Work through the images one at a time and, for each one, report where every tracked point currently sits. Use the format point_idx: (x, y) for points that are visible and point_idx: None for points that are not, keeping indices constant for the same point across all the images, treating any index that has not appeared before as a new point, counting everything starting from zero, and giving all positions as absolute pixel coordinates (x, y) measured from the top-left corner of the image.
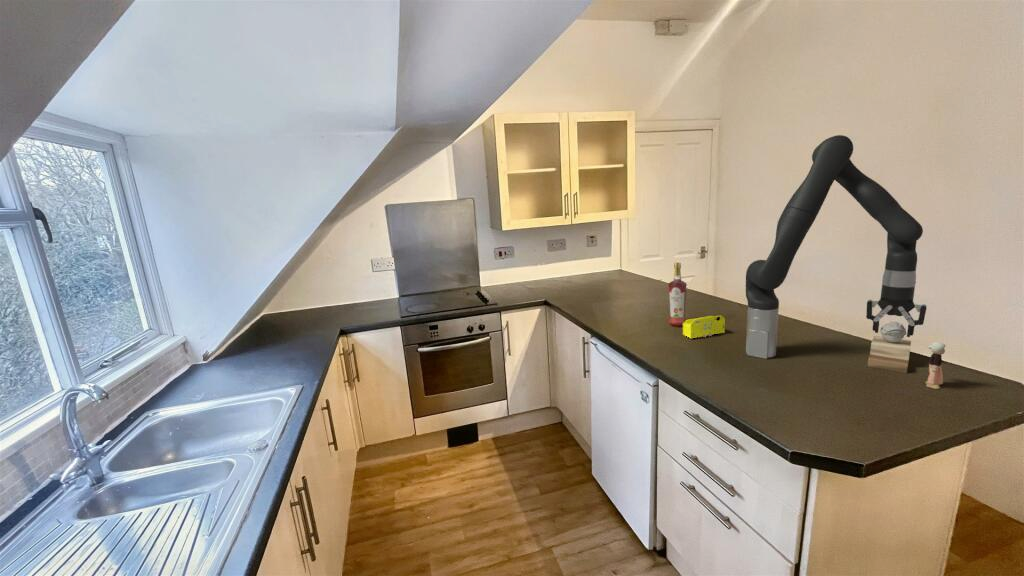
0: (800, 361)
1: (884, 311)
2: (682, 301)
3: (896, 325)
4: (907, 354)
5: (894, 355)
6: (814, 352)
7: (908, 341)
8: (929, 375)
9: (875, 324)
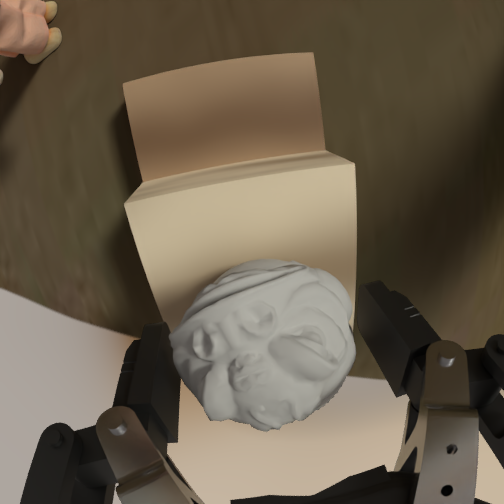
0: (483, 8)
1: (454, 483)
2: None
3: (245, 363)
4: (143, 190)
5: (208, 171)
6: (483, 134)
7: None
8: (30, 13)
9: (415, 331)
